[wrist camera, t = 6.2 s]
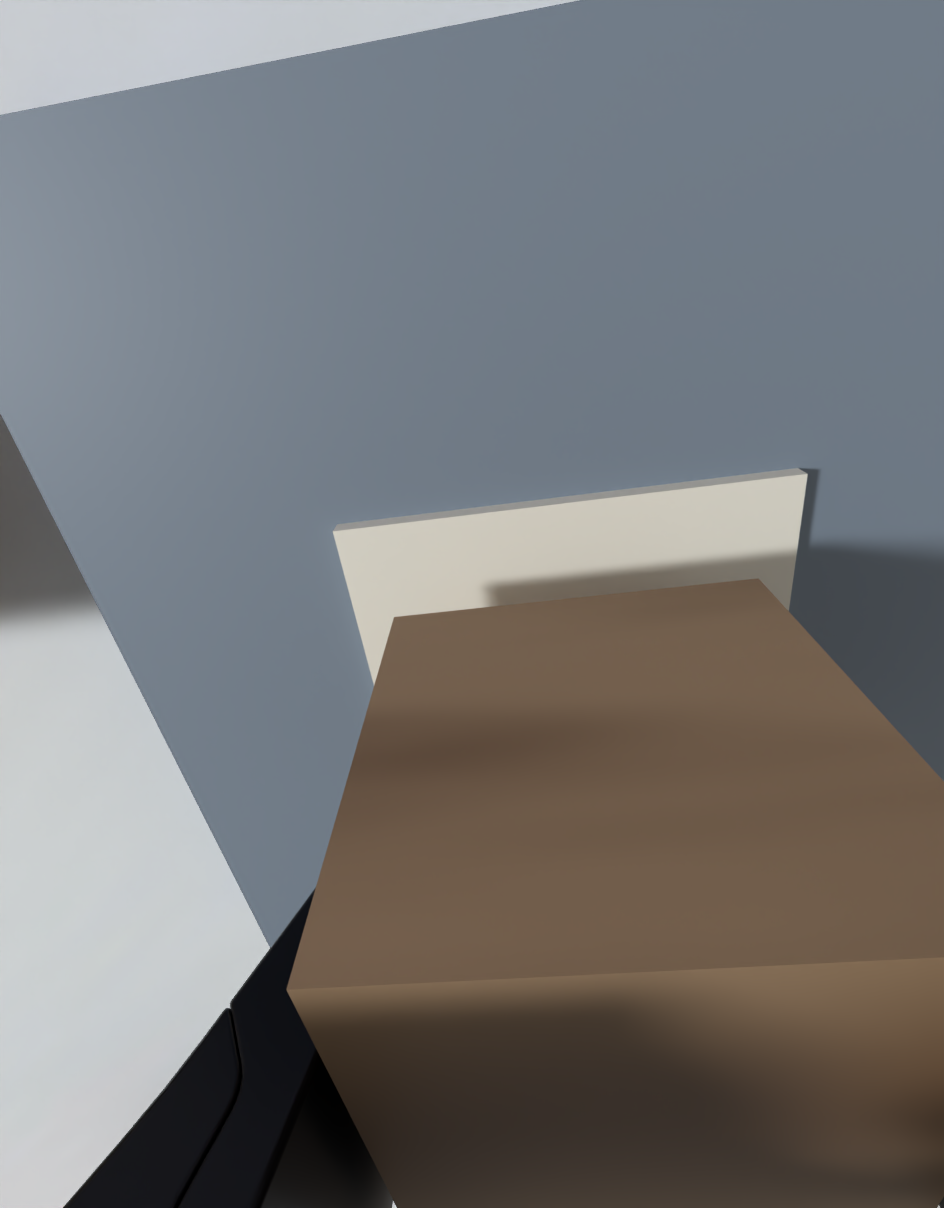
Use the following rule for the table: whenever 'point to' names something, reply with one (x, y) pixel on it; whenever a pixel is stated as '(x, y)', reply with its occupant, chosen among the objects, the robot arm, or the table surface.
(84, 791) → the table surface
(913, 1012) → the walnut block
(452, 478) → the board
